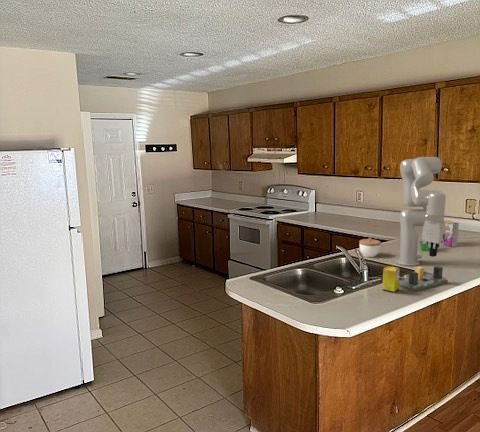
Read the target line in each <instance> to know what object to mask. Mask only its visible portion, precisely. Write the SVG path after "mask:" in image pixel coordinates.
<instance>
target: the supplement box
mask: <svg viewBox="0 0 480 432" xmlns="http://www.w3.org/2000/svg"><path fill="white" fill-rule="evenodd" d="M400 271H401V270H400V267H396V266H389V265H387V266H386V267H384V268H383V270H382V291H383V292H387V293H393V294H394V293H396V292H398V290H399V288H400V287H399V277H400Z"/></svg>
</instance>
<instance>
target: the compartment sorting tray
mask: <svg viewBox="0 0 480 432" xmlns="http://www.w3.org/2000/svg"><path fill="white" fill-rule="evenodd" d="M443 270H444V269H443V267H442V266H440V265H436V266H433V271H432V272H433V273H431V272H427V271H424V274H423V280H419V279H418V273H417V272H415V271H410V272H408V274H403V277H402V276H399V288H400V289H403V290H406V291H409V292H413V293H414V292H418V291H421V290H424V289H429V288H432V287H436V286H440V285H443V284H448V283H449V280H448V279H447V277H444V276H443Z"/></svg>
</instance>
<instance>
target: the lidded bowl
mask: <svg viewBox="0 0 480 432" xmlns="http://www.w3.org/2000/svg"><path fill="white" fill-rule="evenodd" d="M358 242H359V251H360V254H362V255H363V256H364V257H366V258H375V257H376V256H377V255H378V254H379V253H380V251H381V241H380V240H378V239H372V238H371V237H369V238H363V239H360V240H359V241H358Z"/></svg>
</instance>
